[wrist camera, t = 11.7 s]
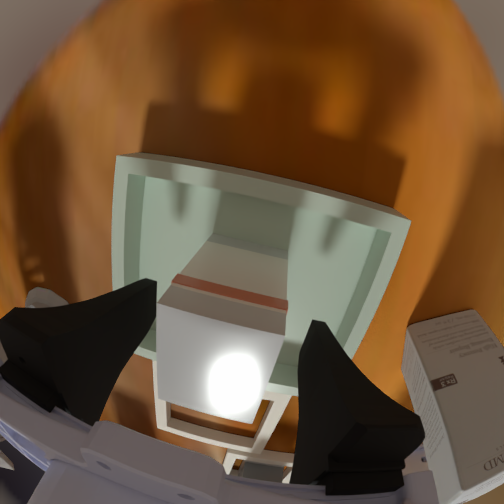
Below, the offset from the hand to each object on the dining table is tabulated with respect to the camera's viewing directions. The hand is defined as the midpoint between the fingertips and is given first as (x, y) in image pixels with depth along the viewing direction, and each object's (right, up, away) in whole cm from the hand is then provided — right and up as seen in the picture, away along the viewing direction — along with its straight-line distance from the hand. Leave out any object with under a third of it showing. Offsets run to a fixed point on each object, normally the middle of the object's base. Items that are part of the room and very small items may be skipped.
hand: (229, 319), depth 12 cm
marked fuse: (0, +1, +3) cm, 3 cm away
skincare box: (+14, -3, +4) cm, 15 cm away
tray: (+1, +2, +4) cm, 4 cm away
